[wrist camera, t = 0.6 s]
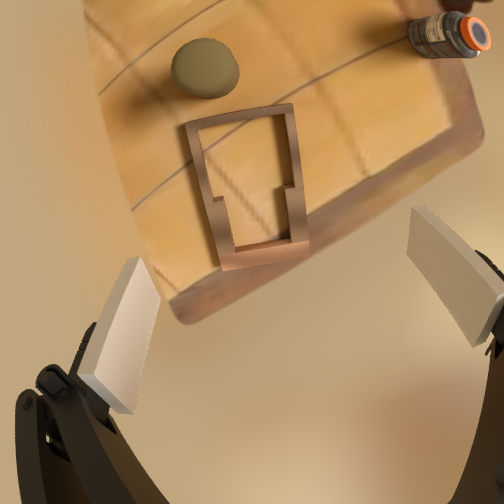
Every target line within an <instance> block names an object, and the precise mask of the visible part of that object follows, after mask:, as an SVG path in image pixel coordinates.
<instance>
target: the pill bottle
mask: <svg viewBox="0 0 504 504" xmlns="http://www.w3.org/2000/svg"><path fill="white" fill-rule="evenodd" d="M408 36H409V40H410V42H411V44H412V46H413V47H414V49H415V50H416V51H417V52H418V53H419V54H421V55H422V56H424V57H426V58H431V59H437V58H474V57H476V56H477V55H478V54H479V53H480V51H486V50H488V49H489V48H490V45H491V39H490V34H489V31H488V29H487V27H486V26H485V25H484V23H483V22H482V21H481V20H479V19H478V18H476V17H467V16H466V15H464V14H463V13H461V12H457V11H450V12H446V13H440V14H436V15H431V16H427V17H423V18H419V19H416V20H413V21H412V22H411V23H410V25H409V28H408Z"/></svg>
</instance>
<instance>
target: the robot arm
mask: <svg viewBox="0 0 504 504" xmlns="http://www.w3.org/2000/svg"><path fill="white" fill-rule="evenodd" d="M407 255H408V256H409V258H410V259H411V260H412V262H413V263H414V264H415V265H416V267H417V268H418V269H419V270H420V272H421V273H422V274H423V276H424V277H425V278H426V280H427V281H428V282H429V284H430V285H431V286H432V288H433V289H434V290H435V292H436V293H437V295H438V296H439V297H440V299H441V300H442V302H443V303H444V305H445V306H446V307H447V309H448V310H449V312H450V313H451V315H452V316H453V318H454V319H455V321H456V322H457V324H458V325H459V327H460V329H461V330H462V332H463V333H464V335H465V336H466V338H467V340H468V341H469V343H470V344H471V346H472V348H474V347H476V346H478V345H480V344H482V343H484V342H486V340H487V338H488V336H489V334H490V332H492V334H493V335H494V338H493V340H492V342H491V344H490V345H489V347H488V349H487V350H486V353H485V355H486V356H487V354H488V353H489V351H490V350H491V355H490V365H489V372H488V379H487V385H486V391H485V396H484V401H483V406H482V411H481V415H480V419H479V423H478V427H477V431H476V434H475V438H474V441H473V445H472V448H471V451H470V454H469V457H468V460H467V463H466V466H465V469H464V471H463V474H462V476H461V479H460V482H459V484H458V486H457V489H456V491H455V493H454V495H453V497H452V499H451V500H450V502H449V503H448V504H504V274H503V273H502V272H501V271H500V270H498V268H497V267H496V266H495V265H494V264H493V263H492V262H491V260H490V259H489V258H488V257H486V256H485V255H484V254H482V253H480V252H479V251H477V250H475V251H474V250H473V249H472V248H471V247H470V246H469V245H468V244H467V243H466V242H465V241H464V240H463V239H462V238H461V237H460V236H459V235H458V234H456V233H455V232H454V231H453V230H452V229H451V228H450V227H449V226H448V225H447V224H445V223H444V222H443V221H442V220H441V219H440V218H439V217H437V216H436V215H435V214H434V213H433V212H432V211H430V210H429V209H428V208H427V207H426V206H424V205H421V206H415V207H412V208H411V220H410V230H409V239H408V247H407ZM160 301H161V299H160V297H159V295H158V293H157V291H156V289H155V287H154V285H153V283H152V280H151V278H150V276H149V274H148V272H147V270H146V267H145V265H144V263H143V261H142V259H141V257H137V258H132V259H127V260H126V263H125V264H124V266H123V268H122V270H121V272H120V274H119V276H118V278H117V280H116V283H115V285H114V287H113V289H112V291H111V293H110V295H109V297H108V299H107V301H106V304H105V306H104V308H103V310H102V312H101V315H100V317H99V319H98V322H93V323H92V325H91V326H90V327H89V328H88V329H87V331H86V332H85V335H84V337H83V339H82V343H81V344H80V346H79V351H77V354H76V356H75V359H74V361H73V364H72V366H71V369H70V371H69V374H68V375H67V374H66V373H65V372H64V371H63V370H62V369H61V368H60V366H58V365H56V364H51V365H48V366H47V367H45V368H44V369H43V370H42V371H41V372H40V373H39V375H38V376H37V380H36V388H37V389H38V390H39V391H40V392H41V393H42V394H44V395H41V396H39V395H38V394H37V393H36V392H35V391H34V390H32V389H27V390H25V391H23V392H22V393H21V394H20V395H19V397H18V399H17V402H16V409H15V444H16V462H17V473H18V482H19V489H20V496H21V501H22V504H170V503H169V502H168V501H167V499H166V498H165V497H164V496H163V495H162V493H161V492H160V491H159V489H158V488H157V487H156V485H155V484H154V483H153V481H152V480H151V478H150V477H149V476H148V474H147V473H146V471H145V470H144V468H143V467H142V465H141V464H140V463H139V461H138V460H137V458H136V456H135V455H134V453H133V452H132V450H131V449H130V447H129V445H128V444H127V442H126V440H125V439H124V437H123V436H122V434H121V432H120V430H119V429H118V427H117V425H116V423H115V421H114V420H113V418H112V417H111V415H110V414H109V408H110V407H111V408H112V409H114V410H115V411H116V412H117V413H120V414H134V412H135V406H136V402H137V397H138V392H139V387H140V383H141V378H142V373H143V369H144V364H145V360H146V356H147V352H148V347H149V343H150V339H151V335H152V331H153V327H154V323H155V320H156V316H157V312H158V308H159V305H160ZM46 435H47V436H48V437H49V443H48V442H47V441H46Z"/></svg>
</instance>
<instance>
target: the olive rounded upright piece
mask: <svg viewBox="0 0 504 504" xmlns="http://www.w3.org/2000/svg"><path fill="white" fill-rule="evenodd" d="M171 72H172V78H173V80H174V81H175V83H176V85H177V86H178V87H179V88H180V89H181V90H182V91H184V92H186V93H188V94H190V95H196V96H200V97H202V98H208V99H215V98H220V97H223V96H225V95H227V94H228V93H230V92H231V91H232V90H233V89H234V88H235V86H236V84H237V83H238V79H239V75H240V74H239V67H238V64H237V62H236V60H235V59H234V56H233V54H232V52H231V50H230V49H229V48H228V47H227V46H226V45H225V44H224V43H222V42H220V41H217V40H215V39H209V38H201V39H195V40H192V41H190V42H188V43H186V44H184V45H183V46H182V47H181V48H180V49H179V50H178V51H177V53H176V54H175V56H174V58H173V61H172V65H171Z"/></svg>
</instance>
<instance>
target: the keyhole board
mask: <svg viewBox="0 0 504 504" xmlns="http://www.w3.org/2000/svg"><path fill="white" fill-rule="evenodd" d="M277 114H283V116H284V122H285V128H286V135H287V142H288V149H289V156H290V163H291V171H292V178H293V184H289V185H283V187H284V194H285V201H286V209H287V217H288V224H289V232H290V238H286V239H280V240H274V241H268V242H263V243H257V244H251V245H246V246H240V247H235V244H234V240H233V236H232V231H231V227H230V223H229V219H228V214H227V210H226V206H225V201H224V197H223V196H221V197H216V198H213V194H212V190H211V186H210V182H209V178H208V173H207V169H206V165H205V161H204V156H203V152H202V148H201V144H200V139H199V135H198V131H197V129H201V128H205V127H210V126H214V125H219V124H224V123H229V122H234V121H239V120H245V119H251V118H257V117H263V116H270V115H277ZM185 128H186V132H187V136H188V140H189V145H190V149H191V153H192V157H193V161H194V165H195V169H196V173H197V177H198V181H199V185H200V189H201V193H202V197H203V200H204V204H205V208H206V212H207V216H208V219H209V223H210V227H211V231H212V234H213V238H214V242H215V245H216V249H217V252H218V256H219V260H220V263H221V267H222V270H223V271H228V270H234V269H239V268H245V267H251V266H257V265H263V264H269V263H275V262H280V261H286V260H292V259H297V258H303V257H309V256H310V249H309V237H308V225H307V214H306V204H305V195H304V185H303V176H302V168H301V160H300V152H299V144H298V137H297V130H296V123H295V116H294V109H293V104H291V103H288V104H280V105H273V106H266V107H259V108H253V109H247V110H241V111H236V112H231V113H225V114H221V115H216V116H211V117H207V118H202V119H198V120H194V121H190V122H186V123H185Z"/></svg>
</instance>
